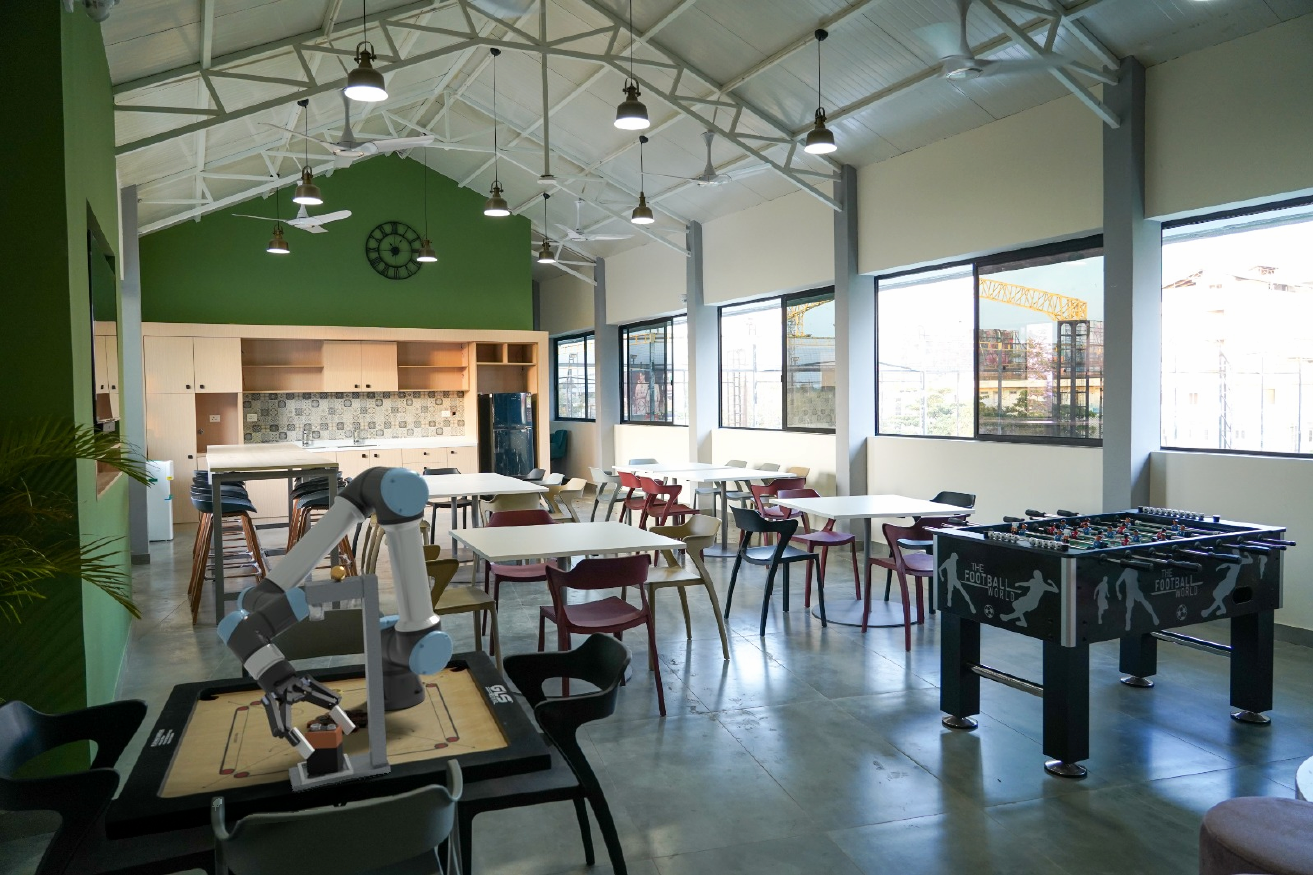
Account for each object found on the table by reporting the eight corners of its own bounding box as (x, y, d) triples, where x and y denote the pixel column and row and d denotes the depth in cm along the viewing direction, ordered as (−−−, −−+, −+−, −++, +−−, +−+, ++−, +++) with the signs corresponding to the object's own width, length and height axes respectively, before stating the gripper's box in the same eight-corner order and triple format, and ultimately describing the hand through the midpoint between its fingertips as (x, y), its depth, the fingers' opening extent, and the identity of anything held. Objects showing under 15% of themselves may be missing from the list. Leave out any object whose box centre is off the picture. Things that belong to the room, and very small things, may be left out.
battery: (313, 766, 201) (311, 721, 201) (344, 765, 202) (342, 720, 201) (306, 774, 197) (303, 729, 196) (337, 773, 197) (335, 728, 197)
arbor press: (289, 775, 201) (277, 567, 198) (382, 756, 210) (372, 557, 207) (293, 793, 191) (281, 576, 189) (390, 772, 200) (380, 565, 198)
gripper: (300, 663, 215) (357, 731, 211) (219, 699, 191) (281, 777, 187) (318, 643, 213) (375, 711, 209) (237, 676, 189) (301, 754, 185)
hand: (331, 742), depth 198 cm, fingers open, 13 cm apart
